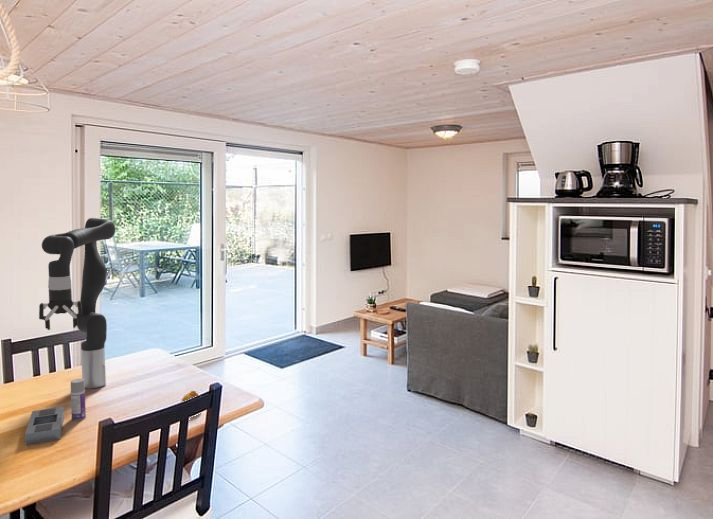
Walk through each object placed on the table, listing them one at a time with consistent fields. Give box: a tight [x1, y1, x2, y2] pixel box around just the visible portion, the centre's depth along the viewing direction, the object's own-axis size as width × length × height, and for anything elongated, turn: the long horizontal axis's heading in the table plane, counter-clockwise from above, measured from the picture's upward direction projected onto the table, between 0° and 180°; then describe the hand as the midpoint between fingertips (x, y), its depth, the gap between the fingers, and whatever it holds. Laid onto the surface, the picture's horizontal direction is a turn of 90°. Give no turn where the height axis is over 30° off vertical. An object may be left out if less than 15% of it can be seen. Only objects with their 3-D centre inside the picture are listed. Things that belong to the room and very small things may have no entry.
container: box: [70, 378, 87, 422], centre depth 183 cm, size 5×5×15 cm
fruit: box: [180, 390, 200, 403], centre depth 194 cm, size 8×8×8 cm
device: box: [24, 406, 65, 446], centre depth 174 cm, size 10×20×4 cm, turn 28°
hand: (61, 328), depth 187 cm, fingers open, 8 cm apart
